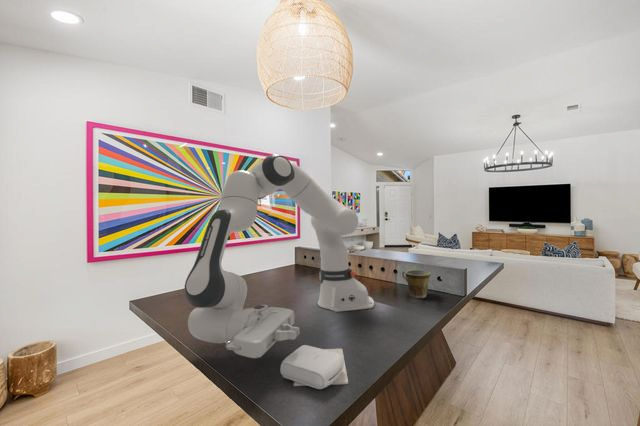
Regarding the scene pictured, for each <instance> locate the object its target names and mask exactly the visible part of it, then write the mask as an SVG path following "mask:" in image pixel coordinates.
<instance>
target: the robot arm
mask: <svg viewBox="0 0 640 426" xmlns="http://www.w3.org/2000/svg"><path fill="white" fill-rule="evenodd" d="M279 189H280V190H282V191H283V192H284V194H286V196H288V198H289V199H291V200H292V202H293V203H294V204H295V205H296V206H297V207H299V209H300V210H302V211H303V212H304V213H305V214H308V215H310V223H311V226H312V228H313V229H314V231H315V234H316V237H317V241H318V246H319V253H320V255H319V256H320V269H319V282H320V288H319V289H320V290H319V296H318V301H317V305H318V306H319V307H321V308H322V309H326V310H331V311H332V312H346V311H347V312H348V311H358V310H367V309H372V308H374V307H375V301H374V299H373V298H372V297H371V296H370V295H369V292H368V289H367V287H366V286H365V285H364V284H363V283H362V282H360V281H358V280H357V279H356V278H355V277H356V272H355V271H354V270H353V269H352V268H350V267H349V250H348V248H347V246H346V244H345V243H344V240H343V237H342V236H347V235H350V234H353V233H354V232H355V231H356V230H358V229H357V228H358V226H359V216H358V215H357V213H356V211H355V210H353V209H351V208H349V207H347V206H345V205H344V204H342V203H341V202H340V201H338V200H337V199H335V198H334V197H333V196H332V195H330V194H329V193H327V192H326V191H325V190H324V189H323V188H322V187H321V186H320V185H318V183H317V182H316V181H315V180H314V179H313V178H312V177H311V176H310V175H309V174H308V173H307V172H306V171H304V169H302V167H300V166H299V165H297V164H295V163H294V162H293V161H290V160H289V159H288V158H286V157H285V156H284V155H282V154H278V153H274V154H270V155H268V156H266V157H265V158H263V159H262V160H261V161H258V162H257V163H256V164H255V165H253V167H252V168H251V169H250V170H249V171H248V170H243V169H242V170H241V169H239V170H234V171H233V172H231V173H230V174H229V175H228V177H227V179H226V181H225V184H224V187H223V190H222V194H221V199H220V204H219V208H218V210H216V211H215V212H214V213H213V214H212V215H211V217H210V218H209V221H208V223H207V226H206V228H205V232H204V235H203V237H202V241H201V244H200V246H199V250H198V253H197V254H196V255H197V256H196V258H195V261H194V264H193V266H192V268H191V269H190V270H189V273H188V275H187V277H186V280H185V283H184V294H185V295H184V296H185V297H186V300H187V302H188V303H189V304H190V305H191V306H193V307H195V308H194V309H192V311H191V312H189V315H188V319H187V327H188V331H189V333H190V334H191V336H193V337H194V338H195V339H198V340H200V341H202V342H208V343H212V344H213V343H214V344H222V343H224V344H225V348H226V349H227V350H230V351H233V352H234V353H235V354H237V355H239V356H242V357H246V358H250V359H258V358H261V357H263V355H264V354H266V352H267V351H269V350H270V348H271V347H273V346H274V345H275V343H276V342H281V341H286V340H292V341H293V340H296V338H297V337H298V336H299V335H300V333H301V332H300V327H298V326H293V325H294V324H295V311H294V310H292V309H290V308H285V307H278V306H277V307H276V306H274V307H273V306H271V307H268V305H267V304H260V305H257V306H254V307H250V308H249V307H248V308H244V307H245V304H246V300H247V297H248V294H249V293H248V292H249V287H248V282H247V280H246V279H245V277H243V276H241V275H239V274H237V273H234V272H230V271H227V270H224V269H223V266H222V260H223V257H224V253H225V249H226V245H227V242H228V239H229V236H230V235H231V234H232V233H239V232H240V233H241V232H244V231H247V230H248V229H250V228H251V227H252V226H253V225H254V223H255V221H256V217H257V213H258V207H259V206H258V204H259V203H258V202H259V200H261V199H262V200H263V199H264V198H266V197H267V196H268V197H269V196H270V195H272V194H274V193H276V192H277V191H278V190H279Z"/></svg>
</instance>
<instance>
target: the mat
mask: <svg viewBox="0 0 640 426" xmlns="http://www.w3.org/2000/svg"><path fill="white" fill-rule="evenodd" d="M324 350H328V351H332V352H335V353H338V354H340V355H341V356H342V358H343V359H344V362H343V363H344V367H343V370H342V372H341V374H340V375H339V377H338V378H337V379H336V380H335V381H334V382H333V383H332V384H330V385H331V386H332V385H335V386H336V385H349V379H348V375H347V374H348V373H347V367H346V363H345V356H344V352H343V348H324ZM330 385H329V386H330ZM303 386H307V385H305V384H302V383H299V382H296V381H293V387H303Z"/></svg>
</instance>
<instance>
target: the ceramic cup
mask: <svg viewBox="0 0 640 426" xmlns="http://www.w3.org/2000/svg"><path fill="white" fill-rule="evenodd" d="M404 274H405V275H404ZM401 275H402V277H403V278H404V280H406V282H407V286H408V291H409V295H410V297H412V298H416V299H425V298H426V297H427V294H428V288H429V283H430V276H431V273H430V272H429V271H426V270H420V269H412V270H411V269H410V270H406V271H403V272H402V274H401Z"/></svg>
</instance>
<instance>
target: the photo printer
mask: <svg viewBox="0 0 640 426" xmlns="http://www.w3.org/2000/svg"><path fill="white" fill-rule="evenodd" d="M324 349H325V348H324ZM324 349H323V348H321V347H316V346H312V345H307V344H304V345H301V346H299V347H298V348H296V349H295V350H294V351H292V353H290V354H289V355H288V356H286V357H285V358H284V359H283V360H282V362H281V363H280V368H279V369H280V374H281V375H282V377H283V378H284V379H286V380H291V381H292V382H294V381H296V382H299V383H302V384H305V385H307V386H308V387H311V388H314V389H316V390H323V389H325V388H328V387H329V386H330V384H332V383H333V382H334V381H335V380H336V379H337V378H338V377H339V375H340V374H341V372H342V370H343V367H344V363H343V362H344V361H345V358H344V359H343V358H342V356H341V355H340V354H338V353H335V352H332V351H328V350H324Z"/></svg>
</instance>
